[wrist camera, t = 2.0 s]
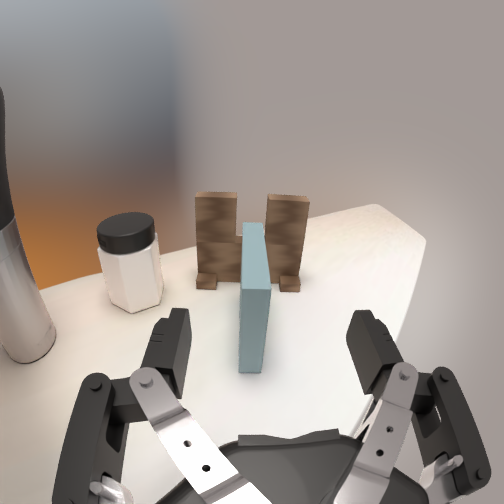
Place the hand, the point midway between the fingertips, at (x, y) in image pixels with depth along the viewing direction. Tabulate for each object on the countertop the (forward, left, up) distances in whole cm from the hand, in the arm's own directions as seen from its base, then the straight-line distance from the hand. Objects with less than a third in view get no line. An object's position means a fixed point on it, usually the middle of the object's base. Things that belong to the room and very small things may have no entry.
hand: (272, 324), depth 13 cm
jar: (-17, +22, -17) cm, 33 cm away
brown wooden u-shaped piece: (0, +28, -17) cm, 33 cm away
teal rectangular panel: (0, +16, -17) cm, 23 cm away
